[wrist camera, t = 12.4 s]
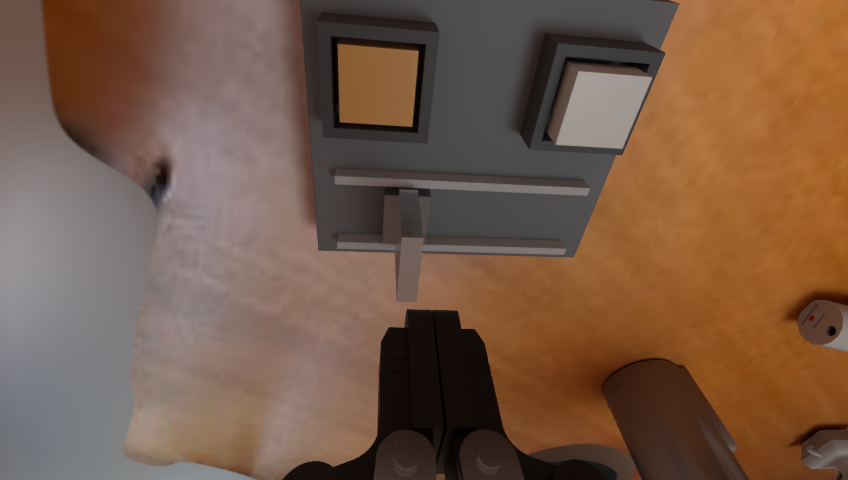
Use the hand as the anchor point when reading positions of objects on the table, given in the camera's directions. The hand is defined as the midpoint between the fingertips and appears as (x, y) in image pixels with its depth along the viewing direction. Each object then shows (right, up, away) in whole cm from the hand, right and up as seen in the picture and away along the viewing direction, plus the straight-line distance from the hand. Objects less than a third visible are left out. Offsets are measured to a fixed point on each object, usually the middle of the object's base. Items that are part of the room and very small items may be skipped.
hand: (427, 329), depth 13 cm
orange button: (-3, +12, +11) cm, 16 cm away
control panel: (+3, +11, +17) cm, 20 cm away
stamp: (+62, -27, +53) cm, 86 cm away
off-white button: (+9, +11, +11) cm, 18 cm away
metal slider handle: (-1, +5, +17) cm, 17 cm away
